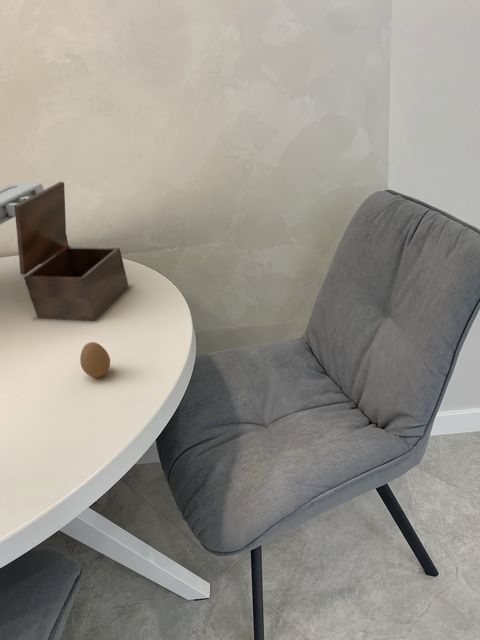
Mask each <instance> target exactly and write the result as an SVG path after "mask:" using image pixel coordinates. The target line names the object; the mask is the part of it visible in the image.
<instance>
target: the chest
mask: <svg viewBox="0 0 480 640" xmlns="http://www.w3.org/2000/svg"><path fill="white" fill-rule="evenodd" d="M122 256H123V255H122V252H121V249H120V247H78V246H77V247H73V246H70V247H65V248H64V249H62V250H61V251H60V252H58V253H57V254H55V255H54V256H52V257H51V258H50V259H48V260H47V261H45V262H44V263H43V264H40V265H38V266H37V267H35V268H34V269H32V270H31V271H30V272H28V273H27V274H25V275H23V279H24V283H25V286H26V288H27V292H28V293H29V297H30V300H31V303H32V305H33V308H34V312H35V314H36V317H37V319H50V320H69V321H70V320H71V321H87V322H88V321H89V322H95V321H97V320H98V319H99V317H101V316H102V314H104V312H106V310H108V309H109V308H110V307H111V306H112V305H113V303H115V302H116V301H117V300H118V299H119V298H120V297H121V296H122V295H123V294H124V293H125V292H126V291H127V290H128V289H129V288H130V285H129V281H128V277H127V273H126V268H125V264H124V260H123V257H122Z"/></svg>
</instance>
